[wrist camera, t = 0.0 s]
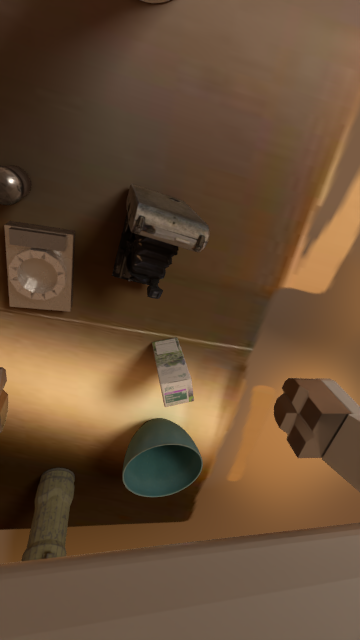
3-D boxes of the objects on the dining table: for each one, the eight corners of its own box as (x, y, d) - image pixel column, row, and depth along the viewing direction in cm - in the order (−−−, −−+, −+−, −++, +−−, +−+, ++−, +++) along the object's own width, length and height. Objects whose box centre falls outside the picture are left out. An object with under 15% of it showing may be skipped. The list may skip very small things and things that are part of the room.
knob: (-5, 161, 45) (-20, 162, 40) (32, 168, 46) (21, 170, 41) (-2, 196, 47) (-16, 201, 42) (32, 201, 48) (23, 207, 43)
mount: (10, 220, 49) (0, 227, 44) (75, 230, 51) (71, 238, 47) (14, 299, 55) (6, 311, 51) (72, 304, 58) (69, 316, 53)
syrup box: (155, 362, 68) (164, 409, 56) (151, 340, 65) (160, 385, 53) (180, 357, 69) (195, 403, 56) (177, 335, 66) (192, 379, 53)
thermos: (36, 491, 81) (-9, 691, 51) (43, 462, 77) (-2, 663, 47) (70, 492, 84) (46, 682, 54) (79, 465, 79) (59, 655, 50)
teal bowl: (127, 401, 72) (130, 444, 62) (198, 404, 77) (212, 445, 67) (116, 453, 80) (116, 498, 69) (181, 453, 85) (191, 495, 75)
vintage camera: (107, 266, 56) (107, 323, 39) (128, 180, 49) (138, 203, 33) (157, 278, 59) (176, 335, 43) (183, 198, 52) (217, 229, 36)
